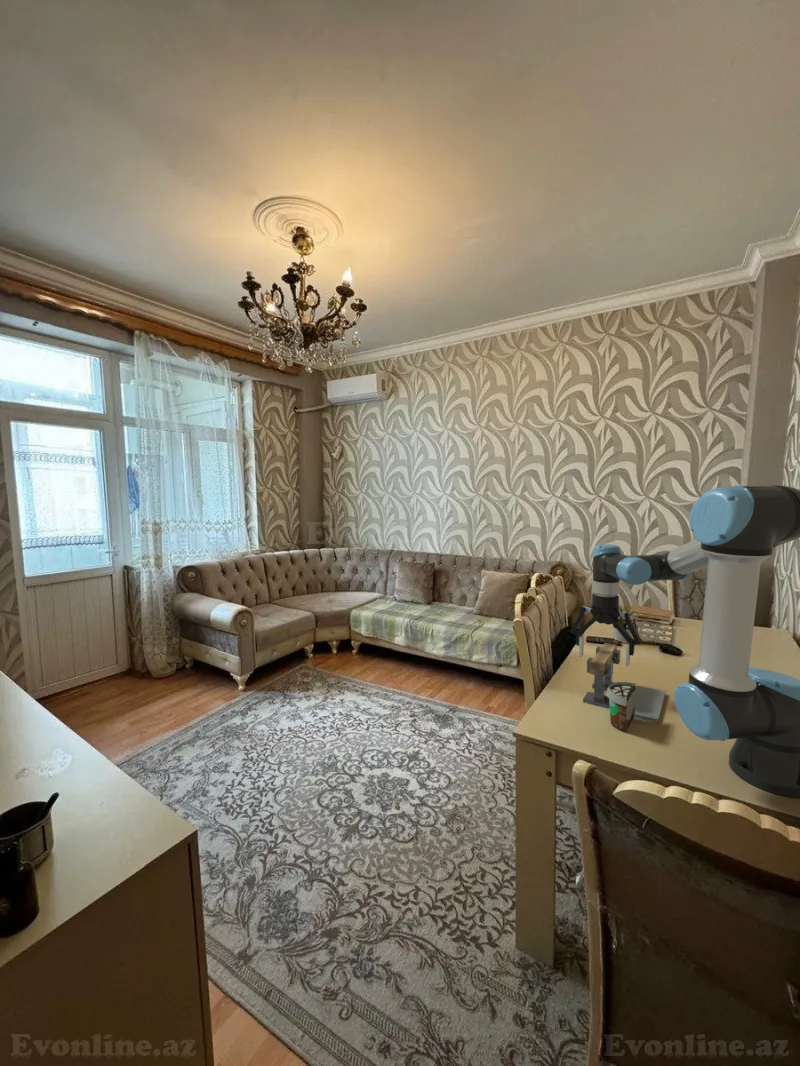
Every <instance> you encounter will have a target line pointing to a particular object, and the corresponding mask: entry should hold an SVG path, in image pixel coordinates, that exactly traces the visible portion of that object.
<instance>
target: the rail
mask: <svg viewBox="0 0 800 1066" xmlns="http://www.w3.org/2000/svg"><path fill="white" fill-rule="evenodd" d="M617 647H618V645H617V644H613V643H607V642H604V643H603V645H602V646H601V649H600V650H599V652H598V653H597V654H596V653H595V656H594V657H592V658H593V660H591V662H590V673H589V674H591V675H598V676H603V677H604V675H605V673H606V672H607V670H608V663H609V661H611V662H613V660H614V659H615V652H616V651H617V650H618V648H617Z"/></svg>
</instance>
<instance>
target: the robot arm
mask: <svg viewBox="0 0 800 1066" xmlns="http://www.w3.org/2000/svg"><path fill="white" fill-rule="evenodd" d="M688 521H689V523H688V524H689V529H690V531H692V536H693V538H694V540H691V541H689V542H686V543H685V544H683V545H680V546H678V547H676V548H674V549H671V550H670V551H667V552H665V553H662V554H661V553H660V554H642V555H641V554H640V555H639V554H638V555H637V554H636V555H626V554H622V553H621V548H620V546H619V545H616V544H609V543H608V544H607V543H606V544H605V543H603V544H597V545H595V546H594V547H593V555H592V588H591V589H592V595H591V596H592V597H591V598H592V600H591V601H592V602H591V607H588V606H587V605H583V606H582V607H581V609H580V614H579V615H578V617H577V618H576V620H575V622H574V624H573V625H572V627H571V629H570V630H569V632H570V634H573V635H574V636H575V645H576V646H577V647H578V657H580V658H582V657H583V656H584V644H585V641H584V640H585V635H584V634H583V633H585V631H586V630H587V629H589V628H590V627H591V626H592V625H593V624H595V622H596V623H598V624H605V625H607V626H608V625H609V626H610V625H612V626H614V627H616V629H617V630H618V631H619V632H620V633H621V635H622V636H623V637H624V638H625V640H626V641H627V642H628V643H626V644H625V646H626V647H625V649H626V650H625V667H629V666H630V665H631V656H634V654H635V646H637V645H639V646H640V644H641V643H642V638H641V637H640V634H639V633H638V630H637V628H636V627H635V623H634V622H632V621H633V620H632V617H631V616H630V612H631V611H627V610H626V611H627V612H626V611H623V612H620V609H619V606H620V596H619V595H620V581H621V582H623V583H626V584H628V585H635V586H638V585H643V584H644V583H647V582H656V581H681V580H687V579H689V578H690V577H691V576H692V575H693V573H694V572H696V571H700V570H702V569H704V568H707V570H706V571H707V572H706V583H705V593H704V605H703V615H702V626H701V635H700V645H699V646H700V647H699V657H698V663H696V664H694V665H693V666H690V668H689V672H688V673H689V674H688V682H682V683H680V684H679V685H677V686H676V687H675V689H674V693H673V695H674V696H673V699H674V705H675V709H676V712H677V714H678V716H679V717H680V719H681V721H682V722H683V724H684V725H685V726H686V728H687V729H688V730H689V731H690V732H691V733H693V734H694V735H695V736H697V737H698V738H700V739H703V740H705V741H721V742H725V741H727V740H735V741H734V744H733V745H732V747H731V748H730V751H729V754H728V766H729V768H730V769H731V771H732V772H733V773H734V774H736V776H737V777H739V778H741V779H742V780H743V781H745V782H746V783H748V784H750V785H752V786H754V787H756V788H759V789H761V790H764V791H765V792H769V793H772V794H776V795H778V796H779V795H780V796H785V797H789V798H796V799H797V798H799V799H800V679H798V678H796V677H793V676H790V675H788V674H785V673H781V672H777V671H773V670H770V669H764V668H759V667H750V662H751V653H752V643H753V635H754V628H755V627H754V625H755V617H756V609H757V601H758V593H759V592H758V591H759V584H760V574H761V565H762V563H763V562H764V561H766V560H767V559H770V558H771V557H772V555H773V550H774V549H773V548H775V547H778V546H781V545H784V544H787V543H790V542H792V541H795V540H798V539H800V489H799V488H795V487H793V486H790V485H789V486H787V485H728V486H721V487H715V488H711V489H710V490H708V491H706V492H704V493H703V494H702V495H701V496H700V497H698V499H697V500H695V502H694V504H693V506H692V508H691V510H690V514H689V520H688ZM589 613H590V614H591V615H592V618H591V619H589V620H588V622H587V623H586V624H585V625H583V626H582V627H580V628H579V626H580V624H581V623H582V622H583V620H584V618H585V616H586V615H588V614H589ZM619 616H621V617H622V618H623V619H625V622H626V624H627V626H628V628H629V630H630V635H629V633H628V632H627V631H626V630H625V628H624V627H623V626H622V625H621V624H620V622H619V620H618V619H617V618H618V617H619ZM633 623H634V624H633ZM578 628H579V630H578Z"/></svg>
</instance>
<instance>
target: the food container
mask: <svg viewBox="0 0 800 1066" xmlns="http://www.w3.org/2000/svg"><path fill="white" fill-rule="evenodd" d="M636 686H637V684H636V683H634V682H629V681H616V682H615V683H612V684H610V685H609V687H608V690H607V691H606V696H607V697H608V698H609V703H610V709H609V714H610V715H609V717H610V725H611V726H612V727H613V728H615V729H616V730H618V731H619V732H622V733H625V734H627V733H628V731H629V729H630V728H631V726H632V724H633V722H634V720H635V717H634V716H635V695H636Z"/></svg>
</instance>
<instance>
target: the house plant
mask: <svg viewBox="0 0 800 1066" xmlns="http://www.w3.org/2000/svg"><path fill="white" fill-rule="evenodd" d="M633 608H635V605H632V606H630V607H629V608H627V610H626V611H625V612H627V611H629V612H630V617H631V618H632V617H634V615H633V614H635V613H637V612H642V610H637V609H635V610H633ZM631 610H632V611H631ZM619 611H620V612H624V609H623V607H622V605H620V604H619ZM617 619H618V620H619V622H620V624H621V625H622V626H623V627H624V628H625V630H626V631H627V632H628V633H629V635H630V636H631V632H630V630H629V628H628V626H627V624H626V622H625V619H623V618H622V617H621V616H619V617H618V618H617ZM632 622H633V624H634V626H635V625H636V624H637V620H632ZM634 622H635V623H636V624H635V623H634ZM612 631H613V638H614V639H615V640H619V641H621V642H622V643H621V644H627V643H628V642H627V641H626V640H625V638H624V637H623V636H622V635H621V633H620V632H619V631H618V630H617V629H616V627H614V626H613V625H612ZM614 639H613V640H614ZM615 640H614V641H615Z"/></svg>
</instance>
